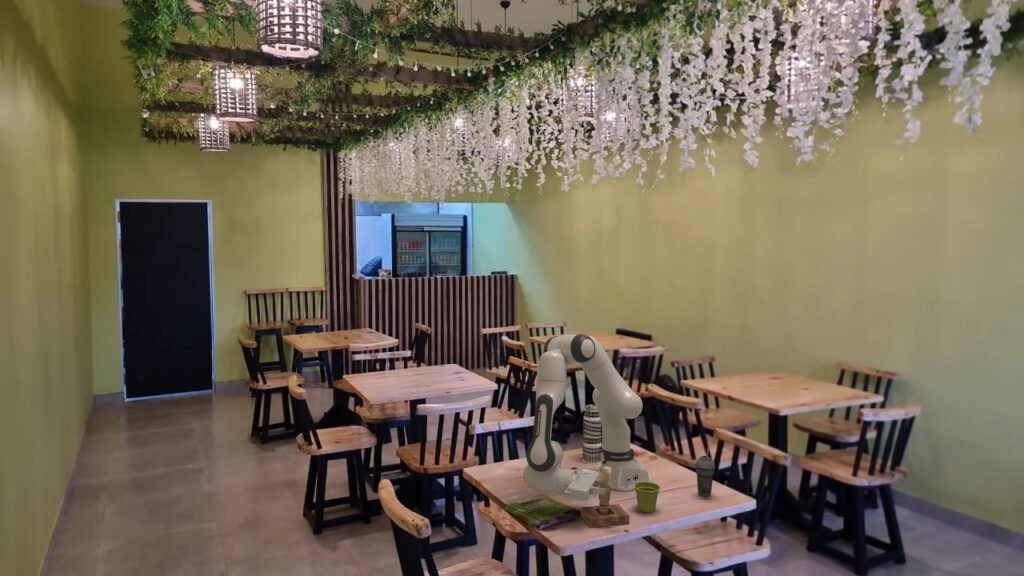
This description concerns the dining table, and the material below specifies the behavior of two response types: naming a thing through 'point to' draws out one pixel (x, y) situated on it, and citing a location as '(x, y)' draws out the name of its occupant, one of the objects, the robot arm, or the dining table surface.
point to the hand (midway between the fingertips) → (607, 488)
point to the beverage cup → (704, 475)
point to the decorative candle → (592, 435)
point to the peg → (606, 482)
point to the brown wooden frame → (605, 516)
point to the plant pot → (646, 496)
